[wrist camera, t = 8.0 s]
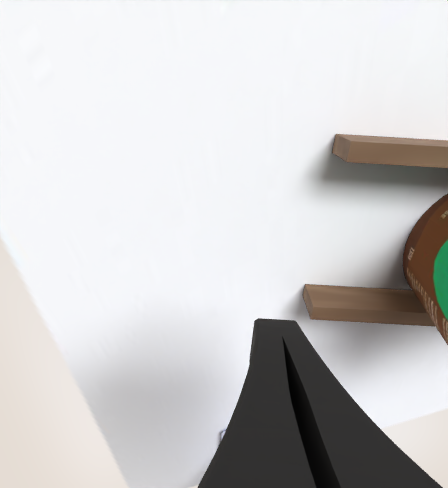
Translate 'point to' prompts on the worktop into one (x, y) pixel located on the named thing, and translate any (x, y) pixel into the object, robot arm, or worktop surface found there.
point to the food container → (430, 263)
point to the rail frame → (375, 299)
